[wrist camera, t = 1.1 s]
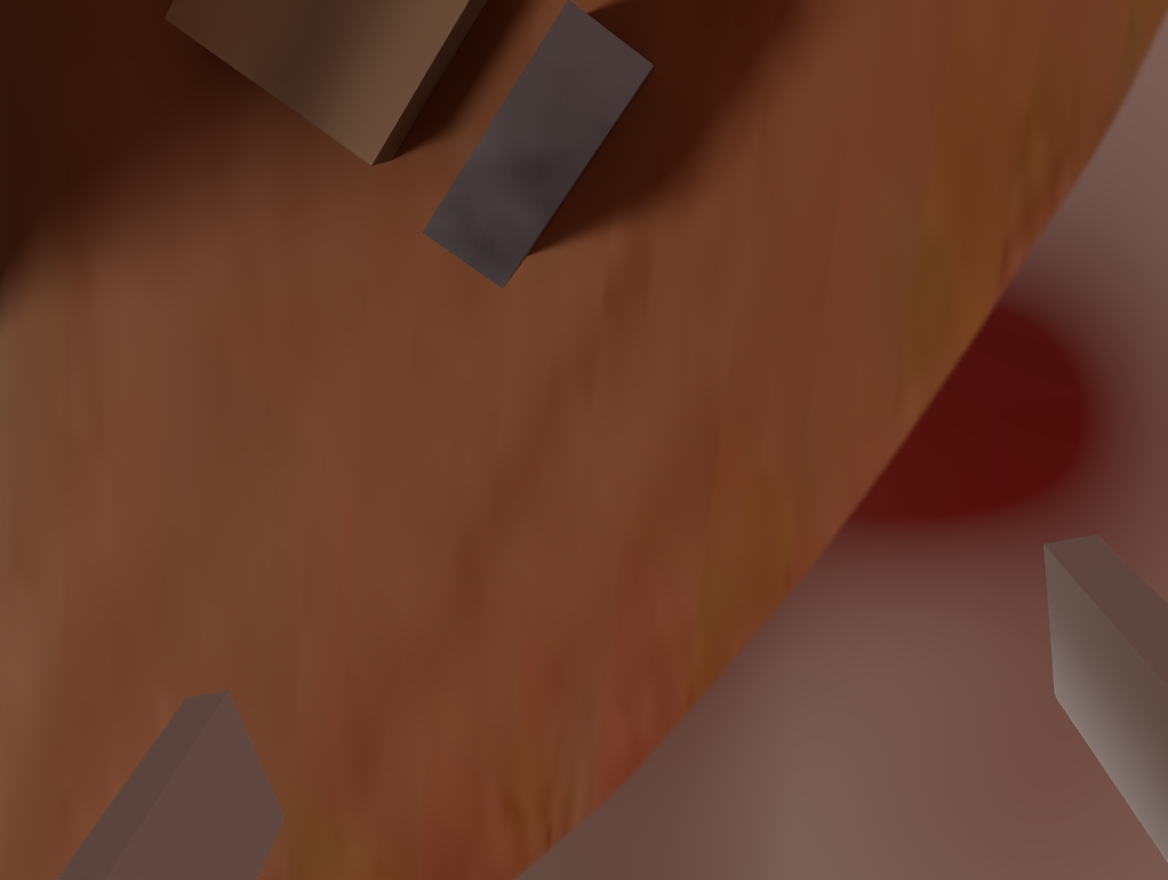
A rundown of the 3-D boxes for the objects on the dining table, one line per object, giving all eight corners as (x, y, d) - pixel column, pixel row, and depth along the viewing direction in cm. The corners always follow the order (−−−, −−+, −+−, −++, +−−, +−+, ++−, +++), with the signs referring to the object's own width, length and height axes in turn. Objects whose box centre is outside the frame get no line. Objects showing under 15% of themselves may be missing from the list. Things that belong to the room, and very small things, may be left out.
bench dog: (460, 208, 35) (422, 232, 29) (583, 14, 32) (568, -1, 27) (526, 256, 35) (502, 288, 30) (654, 68, 33) (654, 65, 27)
